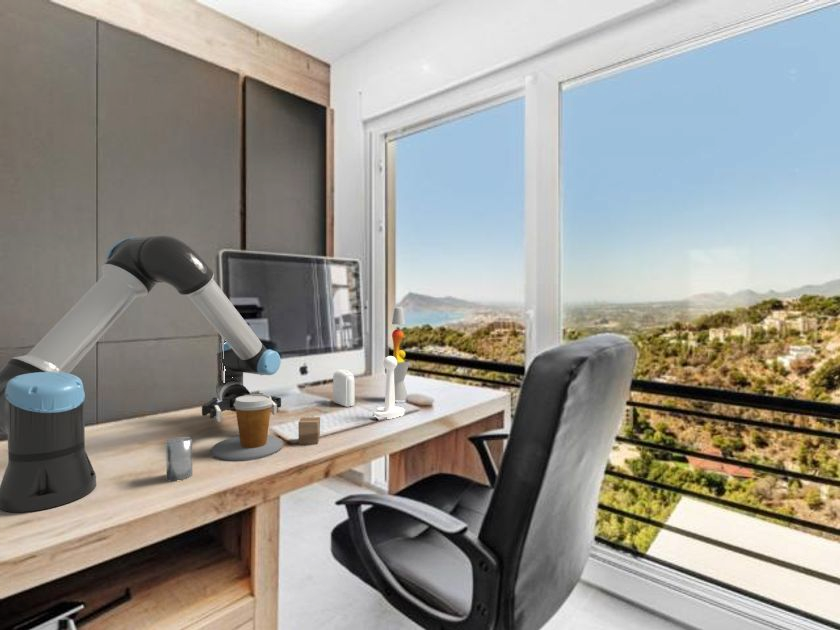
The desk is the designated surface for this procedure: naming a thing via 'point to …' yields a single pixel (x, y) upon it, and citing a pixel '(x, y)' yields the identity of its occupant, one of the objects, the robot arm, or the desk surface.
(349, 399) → the photo printer
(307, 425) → the walnut block
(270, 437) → the round gray coaster
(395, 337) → the lava lamp
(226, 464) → the desk surface
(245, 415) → the disposable coffee cup
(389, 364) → the joystick
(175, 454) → the chrome cylinder
